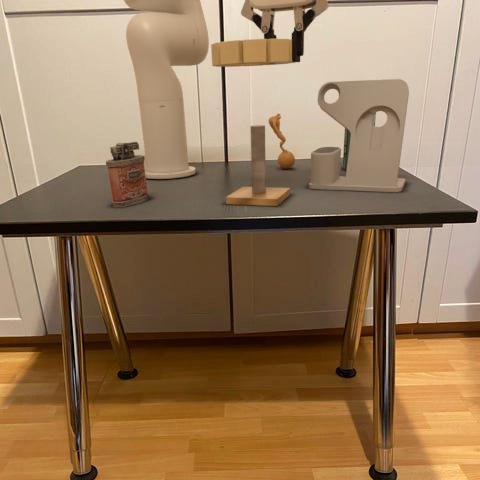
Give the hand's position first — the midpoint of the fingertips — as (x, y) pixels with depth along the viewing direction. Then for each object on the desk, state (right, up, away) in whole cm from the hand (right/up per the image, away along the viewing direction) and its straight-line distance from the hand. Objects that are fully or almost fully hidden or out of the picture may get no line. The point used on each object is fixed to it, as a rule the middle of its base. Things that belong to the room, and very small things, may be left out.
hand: (283, 61), depth 75 cm
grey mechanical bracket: (+15, -15, +17) cm, 27 cm away
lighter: (-26, -20, +11) cm, 34 cm away
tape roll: (-5, 0, +2) cm, 5 cm away
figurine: (+3, -5, +37) cm, 38 cm away
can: (+20, -6, +34) cm, 40 cm away
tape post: (-4, -19, +9) cm, 22 cm away
